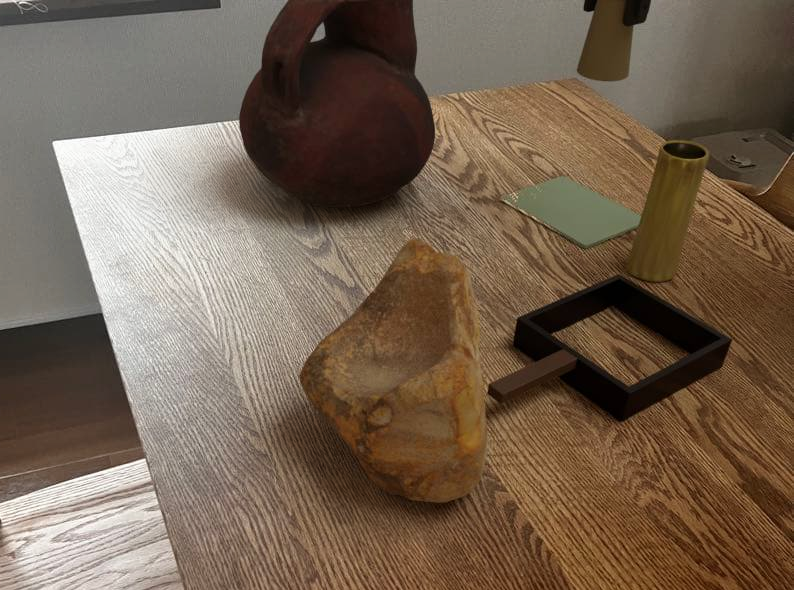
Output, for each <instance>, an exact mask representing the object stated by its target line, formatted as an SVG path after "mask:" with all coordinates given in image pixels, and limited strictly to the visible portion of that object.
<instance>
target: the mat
mask: <svg viewBox="0 0 794 590" xmlns="http://www.w3.org/2000/svg"><path fill="white" fill-rule="evenodd" d="M560 176H561V177H560ZM560 176H558V177H554V178H551V179H549V180H545V181H543V182H540V183H536V184H535V185H536V186H534V185H531V186H528V187H525V188H522V189H519V190H517V191H518V192H517V191H514V192H515V193H518V202H517V201H516V202H514V201H515V200H516V199H517V198H516V199H514V200H512V199H513V198H515V197H516V196H517V195H516V196H514V197H513V198H511V197H512V196H513V195H514V194H513V195H511V196H509V195H510V193H508V194H505V195H502V196H501V197H502V198H503V199H504V200H507V201H508V202H510V203H511V204H513V205H515V206H516V207H519V208H520V209H522V210H524V211H525V212H527V213H529V214H531V215H532V216H534V217H536V218H537V219H539V220H541V221H542V222H543V223H545V224H547V225H549V226H550V227H551V228H553V229H554V230H556V231H557V232H559V233H560V234H562V235H564V236H566V237H567V238H569V239H570V240H571V241H570V240H569V241H570V242H572V241H573V242H572V243H574V242H575V243H576V245H577V244H578V245H577V246H579V247H580V248H582V247H583V248H582V249H584V250H587V249H589V248H592V247H594V246H597V245H599V243H600V244H602V243H604V241H605V242H607V241H609V240H608V239H610V240H612V239H614V238H617V237H619V236H622V235H624V234H627V233H629V232H632V231H634V230H637V229H638V225H639V222H640V219H641V215H642V214H639V213H637V212H636V211H633V210H632V209H629V208H627V207H626V206H624V205H622V204H619V203H617V202H615V201H614V200H612V199H610V198H609V197H606V196H604V195H602V194H600V193H598V192H596V191H595V190H592V189H591V188H588V187H587V186H584V185H583V184H581V183H579V182H577V181H575V180H573V179H571V178H569V177H568V176H566V175H560ZM563 176H564V178H563ZM541 183H542V184H541ZM544 184H545V185H544ZM537 185H538V187H537ZM536 187H537V188H536ZM539 188H540V189H539ZM538 189H539V190H538ZM541 190H542V191H541ZM520 191H521V193H519V192H520ZM540 191H541V192H540ZM522 193H523V195H521V194H522ZM532 193H533V194H532ZM531 194H532V195H531ZM535 194H536V195H535ZM520 195H521V196H520ZM534 195H535V196H534ZM508 196H509V197H508ZM536 196H537V197H536ZM522 197H523V198H522ZM535 197H536V198H535ZM510 198H511V199H510ZM534 198H535V199H534ZM508 199H509V200H508ZM523 199H524V200H523ZM511 200H512V201H511ZM535 211H536V212H535ZM636 228H637V229H636ZM633 229H634V230H633ZM631 230H632V231H631ZM628 231H629V232H628ZM626 232H627V233H626ZM560 234H559V235H560ZM621 234H622V235H621ZM567 238H566V239H567ZM606 240H607V241H606ZM601 242H602V243H601ZM575 243H574V244H575Z"/></svg>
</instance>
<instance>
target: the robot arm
mask: <svg viewBox="0 0 794 590" xmlns="http://www.w3.org/2000/svg"><path fill="white" fill-rule="evenodd" d="M596 3H597V0H584V2H583V7H582V8H583V9H582V11H584V12H586V13H591V12H594V9H595V6H596ZM651 3H652V0H627V4H626V8H625V13H624V18H623V24H624V25H625V26H628V27H629V26H633V25H634V26H636V25H641V24H644V23H645V22H646V21H647V18H648V14H649V12H650V8H651ZM634 26H633V27H634Z"/></svg>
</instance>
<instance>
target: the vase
mask: <svg viewBox="0 0 794 590" xmlns="http://www.w3.org/2000/svg"><path fill="white" fill-rule="evenodd" d="M709 158H710V152H709V150H708V149H707V147H705V146H704V145H702V144H700V143H698V142H695V141H689V140H684V139H683V140H682V139H671V140H667V141H665V142H663V143H662V144H661V145H660V147H659V150H658V155H657V159H656V162H655V167H654V171H653V173H652V179H651V183H650V186H649V189H648V192H647V195H646V199H645V203H644V206H643V209H642V212H641V214H640V215H641V219H640V222H639V225H638V228H637V229H636V232H635V236H634V238H633V239H634V240H633V243H632V246H631V249H630V251H629V255H628V258H627V259H626V261H625V265H624V266H625V269H626V270H627V272H628V273H629V274H630V275H631V276H632V277H635V278H637V279H638V280H641V281H645V282H650V283H663V282H667V281H670V280H672V279H673V278H674V277H675V276H676V275H677V273H678V266H679V263H680V258H681V255H682V251H683V247H684V244H685V240H686V235H687V232H688V229H689V225H690V221H691V218H692V215H693V211H694V206H695V204H696V200H697V196H698V193H699V189H700V186H701V184H702V180H703V177H704V174H705V170H706V167H707V164H708V161H709Z"/></svg>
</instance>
